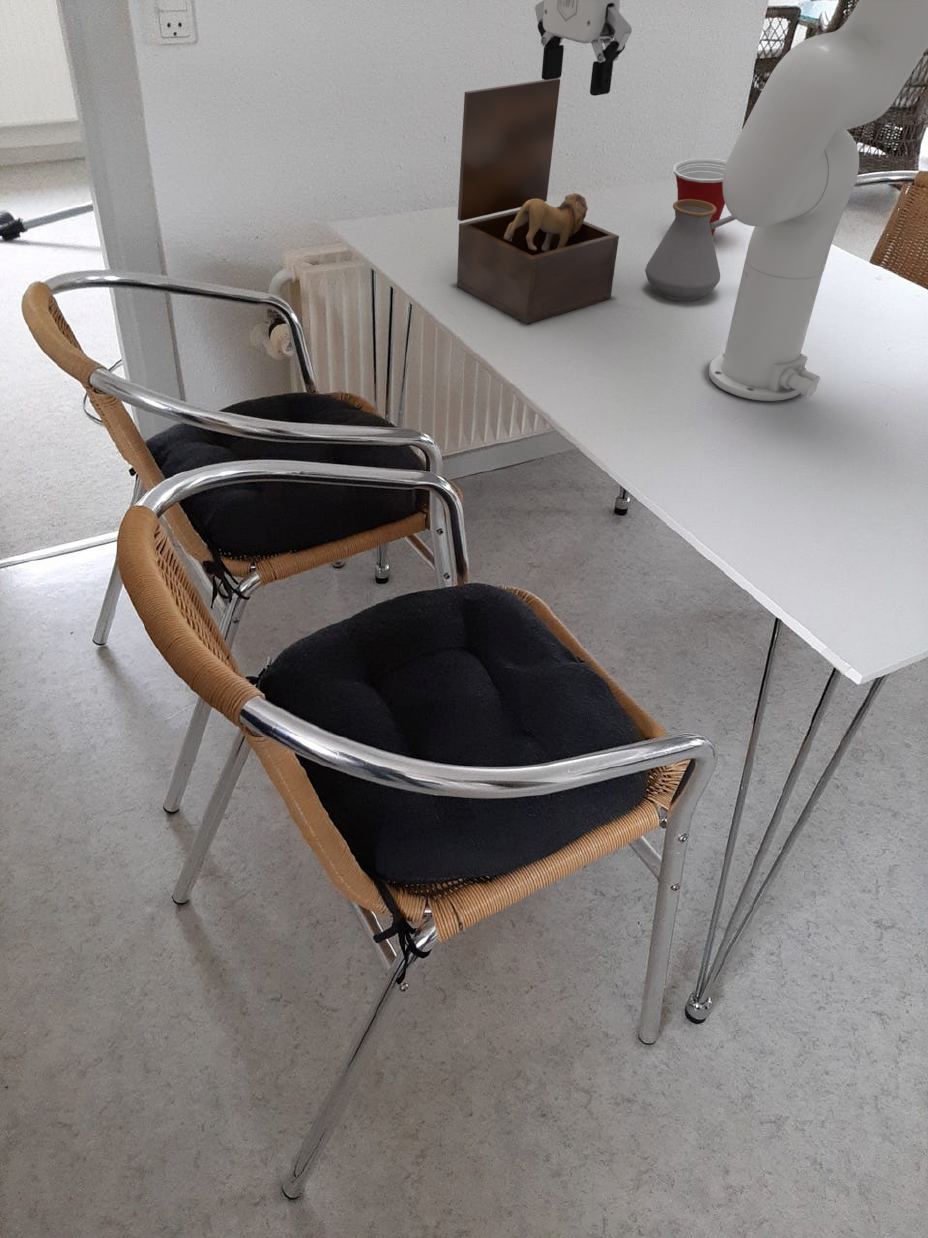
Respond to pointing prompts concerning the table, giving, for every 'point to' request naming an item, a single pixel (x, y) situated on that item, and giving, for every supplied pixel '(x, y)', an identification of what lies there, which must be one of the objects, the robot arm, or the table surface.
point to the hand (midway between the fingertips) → (574, 85)
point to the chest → (534, 267)
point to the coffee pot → (687, 253)
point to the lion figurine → (550, 220)
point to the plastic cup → (702, 182)
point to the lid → (506, 146)
